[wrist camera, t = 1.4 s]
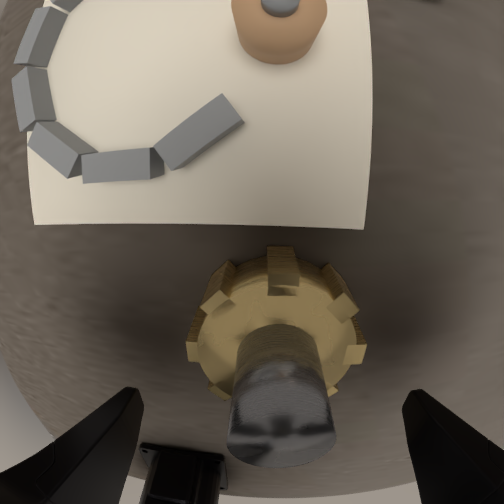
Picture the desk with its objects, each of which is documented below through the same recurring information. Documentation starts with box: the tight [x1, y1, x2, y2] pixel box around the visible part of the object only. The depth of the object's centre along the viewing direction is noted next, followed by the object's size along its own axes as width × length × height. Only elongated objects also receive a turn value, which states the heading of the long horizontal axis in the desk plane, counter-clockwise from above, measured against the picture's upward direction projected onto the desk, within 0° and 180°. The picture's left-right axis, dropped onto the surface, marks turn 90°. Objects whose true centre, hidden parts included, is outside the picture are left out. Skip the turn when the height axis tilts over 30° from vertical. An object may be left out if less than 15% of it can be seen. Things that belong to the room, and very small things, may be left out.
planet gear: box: [186, 246, 367, 468], centre depth 10 cm, size 7×7×7 cm
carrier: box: [12, 0, 372, 230], centre depth 7 cm, size 14×14×4 cm
